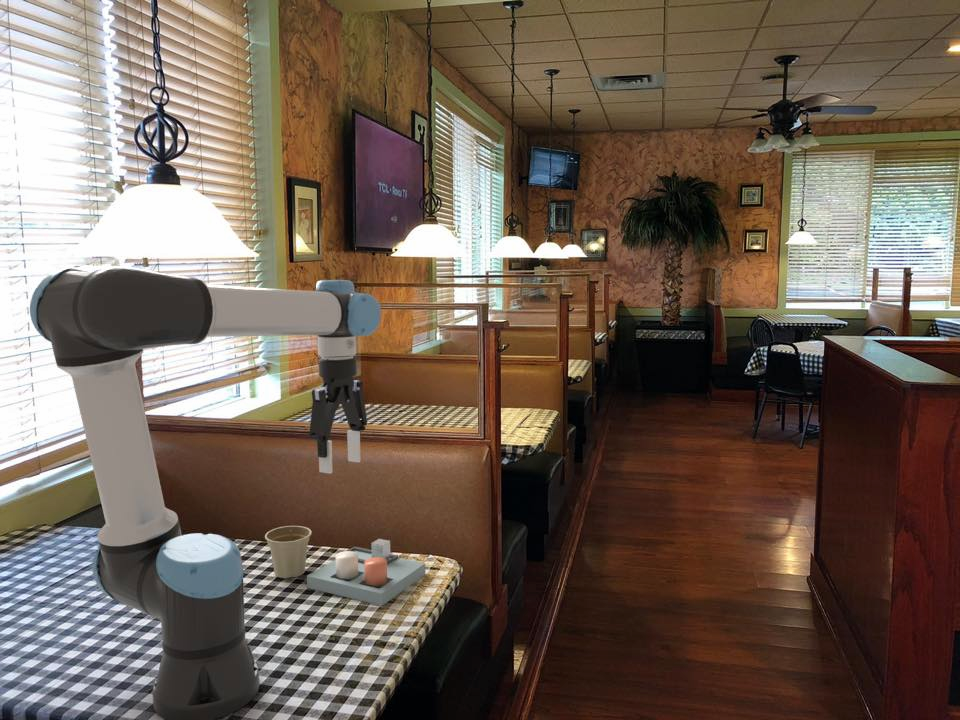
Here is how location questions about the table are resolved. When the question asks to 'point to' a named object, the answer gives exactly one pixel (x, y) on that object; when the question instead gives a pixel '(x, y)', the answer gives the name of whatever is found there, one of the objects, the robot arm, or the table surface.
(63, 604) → the table surface
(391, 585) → the panel
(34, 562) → the table surface
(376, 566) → the salmon orange egg
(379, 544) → the grey stone cube
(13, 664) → the table surface
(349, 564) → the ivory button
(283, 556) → the flower pot
